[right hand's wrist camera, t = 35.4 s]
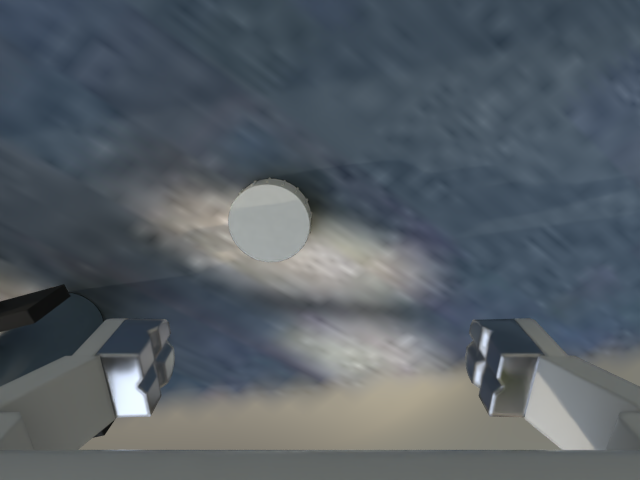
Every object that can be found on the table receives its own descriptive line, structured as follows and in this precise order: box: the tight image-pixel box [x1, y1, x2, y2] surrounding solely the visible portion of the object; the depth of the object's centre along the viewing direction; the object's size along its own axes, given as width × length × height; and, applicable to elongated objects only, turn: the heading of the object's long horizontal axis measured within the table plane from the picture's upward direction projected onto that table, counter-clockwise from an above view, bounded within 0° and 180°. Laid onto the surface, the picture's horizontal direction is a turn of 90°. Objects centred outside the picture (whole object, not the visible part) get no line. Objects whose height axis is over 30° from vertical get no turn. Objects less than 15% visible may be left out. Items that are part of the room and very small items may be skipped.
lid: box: [228, 178, 312, 262], centre depth 23 cm, size 5×5×2 cm
